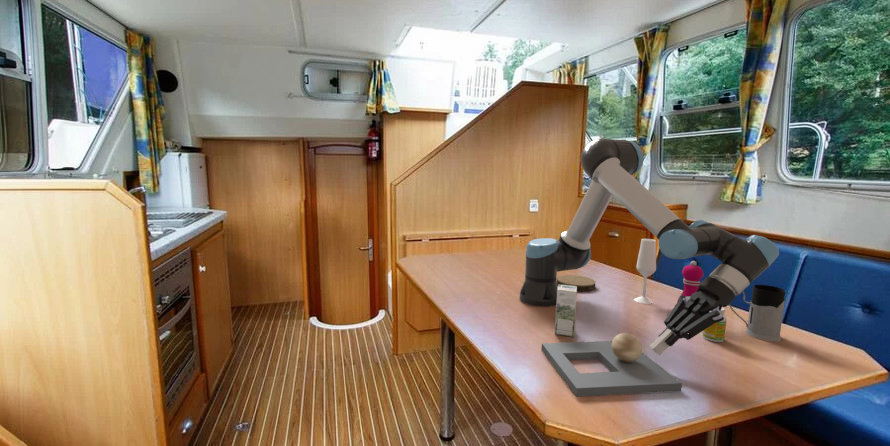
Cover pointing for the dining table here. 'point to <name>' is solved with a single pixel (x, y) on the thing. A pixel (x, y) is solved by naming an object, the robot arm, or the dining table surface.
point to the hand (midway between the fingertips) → (654, 350)
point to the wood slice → (577, 282)
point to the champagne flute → (646, 265)
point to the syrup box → (565, 310)
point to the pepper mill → (691, 278)
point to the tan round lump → (626, 347)
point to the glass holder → (765, 312)
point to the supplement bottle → (716, 330)
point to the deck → (618, 381)
